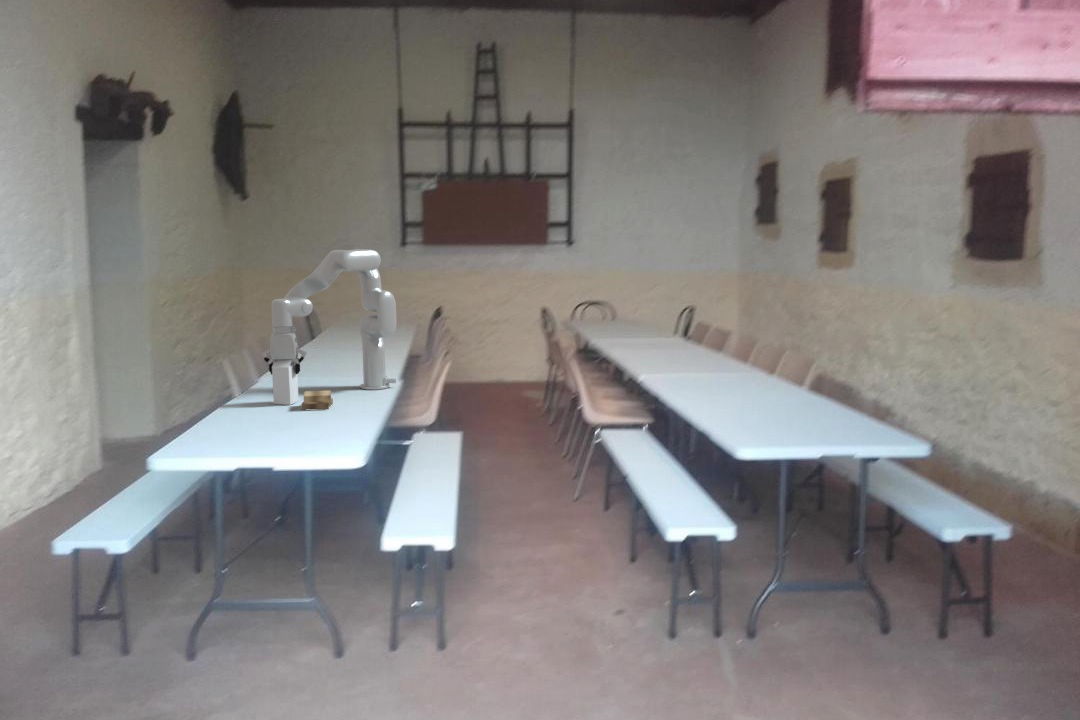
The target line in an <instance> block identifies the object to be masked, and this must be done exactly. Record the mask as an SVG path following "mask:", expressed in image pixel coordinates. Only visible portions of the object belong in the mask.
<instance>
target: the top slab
mask: <svg viewBox="0 0 1080 720" xmlns="http://www.w3.org/2000/svg"><path fill="white" fill-rule="evenodd" d="M331 398H332V390H308V391H307V390H306V391H304V393H303V402H304V404H319V403H331Z"/></svg>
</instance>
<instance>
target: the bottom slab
mask: <svg viewBox="0 0 1080 720" xmlns="http://www.w3.org/2000/svg"><path fill="white" fill-rule="evenodd" d="M332 404H334V399H333V398H332V397H331V403H319V404H304V401H303V402H302V403H301V411H307V410H306V409H329V407H330V406H331V405H332ZM332 406H333V405H332ZM332 406H331V407H332ZM331 407H330V408H331ZM329 410H330V409H329Z"/></svg>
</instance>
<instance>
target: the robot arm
mask: <svg viewBox="0 0 1080 720" xmlns="http://www.w3.org/2000/svg"><path fill="white" fill-rule="evenodd" d="M381 261H382V259H381V256H380V253H379V252H378V251H376V250H374V249H364V248H355V249H350V250H348V249H334V250H331V251H330V252H329V253H328V254H327V255H326V256H325V257H324V258H323V260H322V261H321V262H320V263H319V264H318V265H317V266H316V268H315V270H313V272H312V273H310V274H309V275H308V276H306V277H304V279H302V280H300V281H299V282H297V283H296V284H294V285H293V286H292V287H291V288H290V289H289V291H287V293H286V295H284V297H283V298H275V299H273V300H272V301H271V322H272V333H271V334H270V335H271V336H270V342H269V348H268V349H266V350H265V351H263V352H261V353H260V355H261V357H262V359H263V360H264V361H265V362H266V363H267V364H268V370H269V373H270V375H272V365H273V363H274V361H275V360H285V359H293V360H294V361H295V363H296V364H295V373H296V374H297V375H299V373H300V372H301V363H302V362H303V361H304V359H305V357H306V355H307V352H306V351H305V350H302V349H300V348H298V342H297V341H298V340H297V335H296V333H295V332H297V327H295V326H294V325H293V317H301V318H303V317H307V316H309V315H310V314H311V313H312V312H313V309H314V306H313V302H312V301H311V300H310V299H308V298H309V297H311V296H312V295H314V294H317V293H320V292H322V291H324V290H326V289H328V288H329V287H330V286H332V284H333V282H334V281H335V280H336V279H337V278H338V276H339V275H340V274H341V273H342V272H356V273H357V274H358V277H359V279H360V288H361V289H360V293H361V294H360V295H361V306H362V309H364V310H365V311H369V312H373V313H376V314H371V313H370V314H366V315H364V316H363V317H361V319H360V321H359V326H358V327H359V333H360V338H361V346H362V347H361V348H362V350H361V351H362V371H363V372H362V374H363V375H362V376H363V383H361V384H360V385H359V388H360V389H362V390H370V391H373V390H374V391H377V390H383V389H388V388H390V386H391V385H390V384H397V379H396V378H388V375H386V374H387V373H386V371H387V370H386V346H385V341H384V339H389V338H392V337H393V336H395V334H396V331H397V323H398V322H397V321H398V320H397V303H396V299H395V296H394V294H393V293H392V292H391V291H389V290H385V289H382V281H381V280H382V279H381V278H382V277H381V275H380V271H379V269H378V268H379V267H380V265H381V264H382V263H381ZM267 354H269V355H270V358H269V357H268V356H267ZM299 354H301V356H300V357H299Z"/></svg>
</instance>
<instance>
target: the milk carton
mask: <svg viewBox="0 0 1080 720" xmlns="http://www.w3.org/2000/svg"><path fill="white" fill-rule="evenodd" d="M295 364H296V362H295V361H294V360H293V359H285V360H274V361H273V365H272V374H271V376H272V395H273V405H285V406H286V405H287V406H291V405H293V404H296V403H298V402H300V401H299V384H298V383H299V382H298V381H299V378H298V374H296V373H295Z"/></svg>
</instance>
